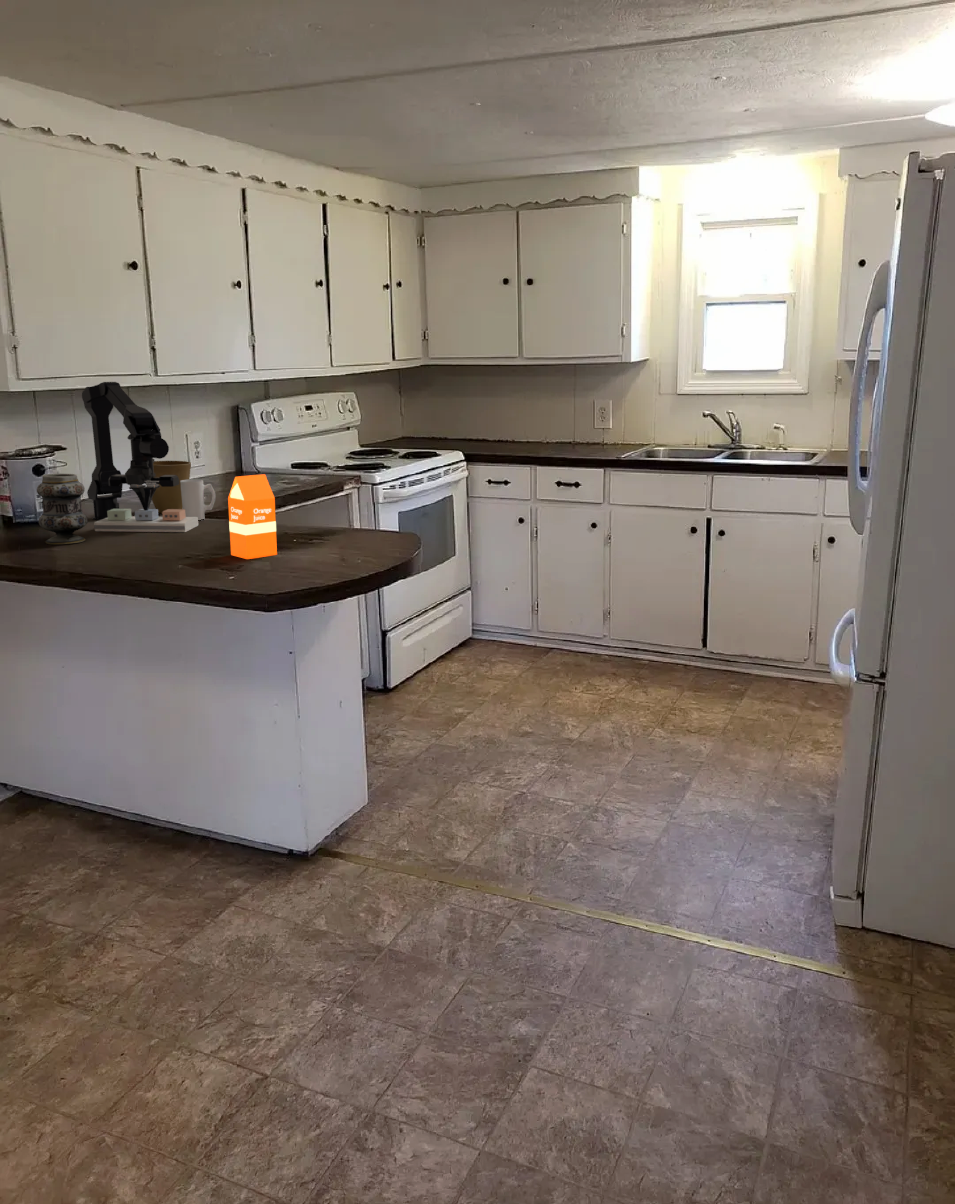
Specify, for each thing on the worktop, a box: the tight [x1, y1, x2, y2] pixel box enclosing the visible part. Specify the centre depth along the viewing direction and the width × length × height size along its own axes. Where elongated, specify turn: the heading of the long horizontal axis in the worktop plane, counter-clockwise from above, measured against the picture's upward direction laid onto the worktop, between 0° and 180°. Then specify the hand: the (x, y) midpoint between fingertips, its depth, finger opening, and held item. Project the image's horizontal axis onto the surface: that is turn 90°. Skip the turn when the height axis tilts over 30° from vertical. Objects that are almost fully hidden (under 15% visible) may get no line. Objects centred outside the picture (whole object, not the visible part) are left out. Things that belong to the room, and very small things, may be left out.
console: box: [93, 515, 199, 533], centre depth 285 cm, size 26×12×2 cm, turn 88°
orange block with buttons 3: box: [161, 508, 186, 521], centre depth 284 cm, size 5×5×2 cm
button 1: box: [107, 508, 133, 520], centre depth 284 cm, size 5×5×2 cm
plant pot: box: [151, 460, 192, 514], centre depth 313 cm, size 15×15×16 cm
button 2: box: [134, 508, 160, 520], centre depth 284 cm, size 5×5×2 cm
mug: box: [180, 478, 216, 521], centre depth 300 cm, size 10×7×12 cm, turn 107°
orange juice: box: [227, 473, 278, 560], centre depth 245 cm, size 8×9×20 cm
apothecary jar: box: [36, 473, 89, 546], centre depth 261 cm, size 12×12×18 cm
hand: (146, 510), depth 284 cm, fingers closed, pressing on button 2
